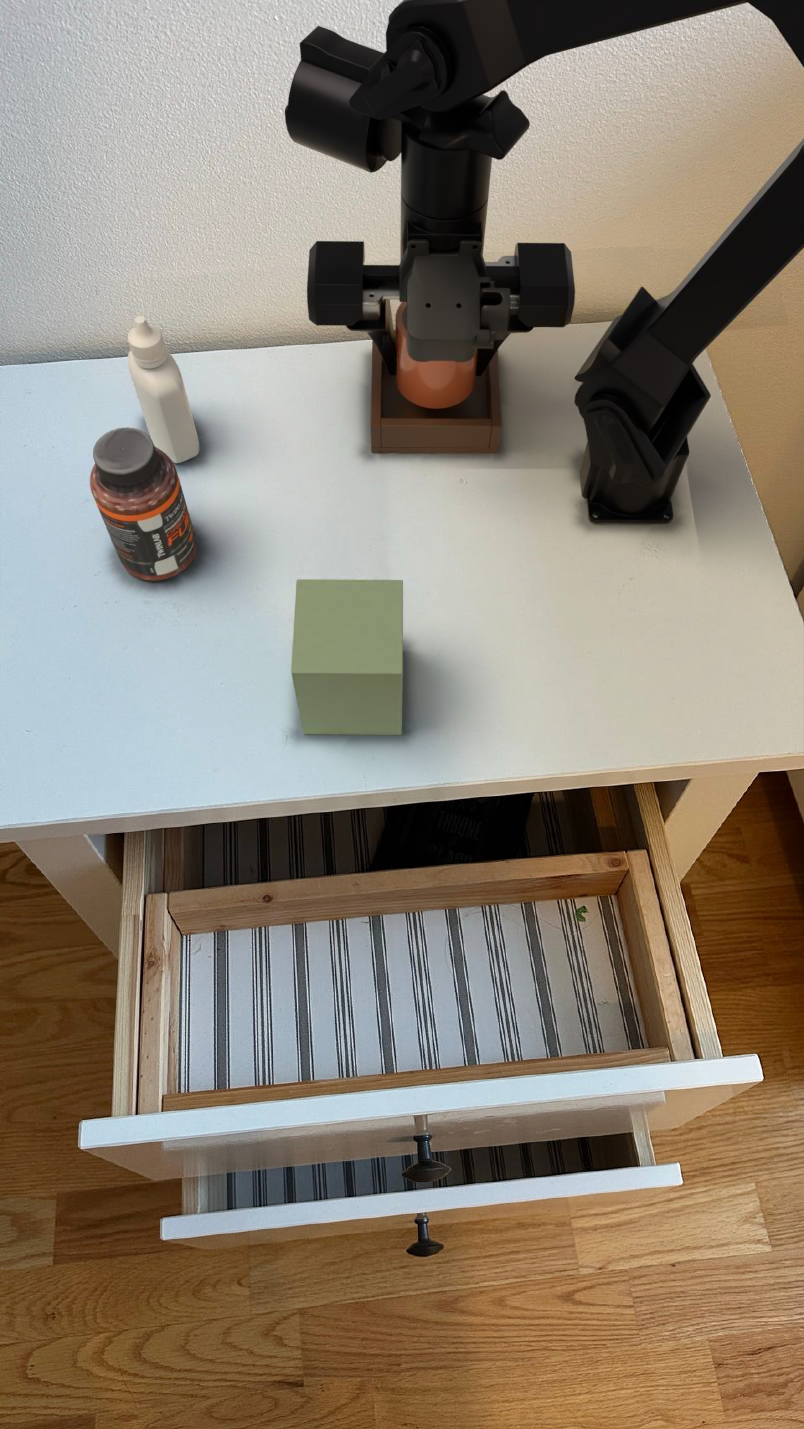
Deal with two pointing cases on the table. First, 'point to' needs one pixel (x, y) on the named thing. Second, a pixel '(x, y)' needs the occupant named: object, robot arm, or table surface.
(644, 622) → the table surface
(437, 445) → the tray
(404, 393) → the cup
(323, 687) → the sage green cube
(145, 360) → the eye dropper bottle
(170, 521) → the supplement bottle
